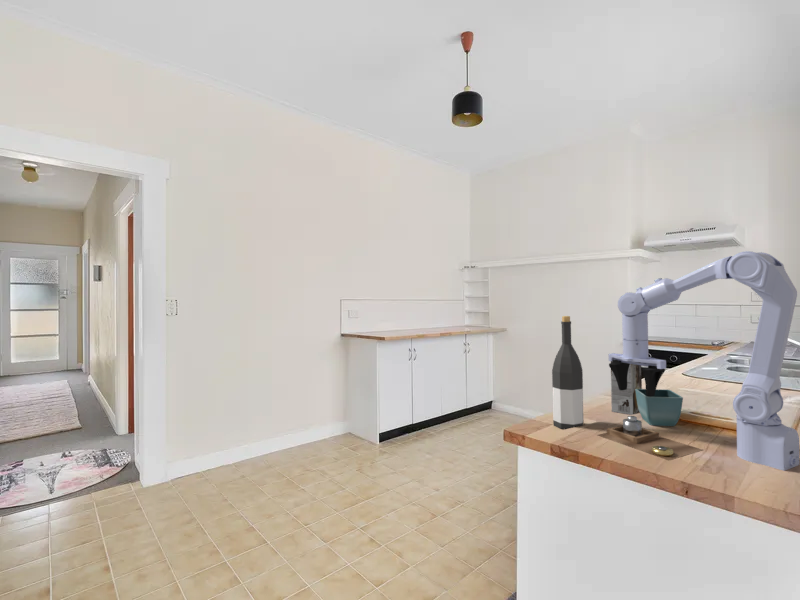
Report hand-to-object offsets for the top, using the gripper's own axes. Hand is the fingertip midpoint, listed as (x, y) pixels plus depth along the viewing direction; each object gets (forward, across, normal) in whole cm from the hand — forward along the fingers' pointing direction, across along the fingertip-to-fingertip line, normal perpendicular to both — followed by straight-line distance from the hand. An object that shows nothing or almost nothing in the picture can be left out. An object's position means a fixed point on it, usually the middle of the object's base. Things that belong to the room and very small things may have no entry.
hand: (636, 392), depth 109 cm
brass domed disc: (+9, +13, -10) cm, 19 cm away
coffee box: (+11, -15, +16) cm, 24 cm away
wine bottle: (+11, -13, -10) cm, 20 cm away
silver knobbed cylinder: (+9, +2, -5) cm, 11 cm away
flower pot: (+11, -1, +10) cm, 15 cm away
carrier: (+10, +7, -6) cm, 14 cm away
